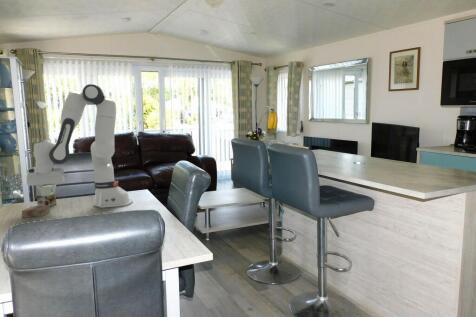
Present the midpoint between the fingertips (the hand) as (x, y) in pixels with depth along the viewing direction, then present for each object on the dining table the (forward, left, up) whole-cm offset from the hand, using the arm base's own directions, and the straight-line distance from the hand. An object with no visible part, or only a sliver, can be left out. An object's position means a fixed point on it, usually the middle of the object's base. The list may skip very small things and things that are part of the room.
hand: (47, 192), depth 211 cm
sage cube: (0, 0, -2) cm, 2 cm away
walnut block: (+2, +10, -11) cm, 15 cm away
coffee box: (+5, -10, -11) cm, 16 cm away
